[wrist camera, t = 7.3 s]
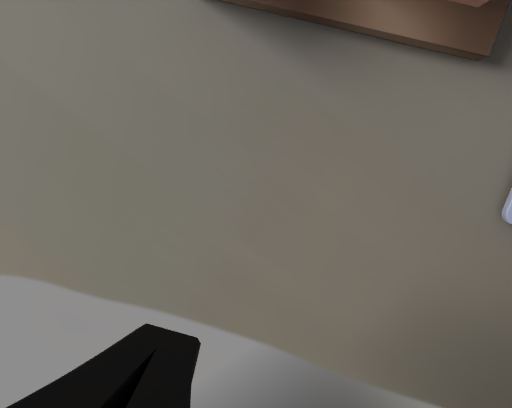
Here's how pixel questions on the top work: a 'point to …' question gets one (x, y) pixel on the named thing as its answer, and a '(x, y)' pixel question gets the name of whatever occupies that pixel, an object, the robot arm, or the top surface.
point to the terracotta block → (471, 2)
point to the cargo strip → (403, 21)
